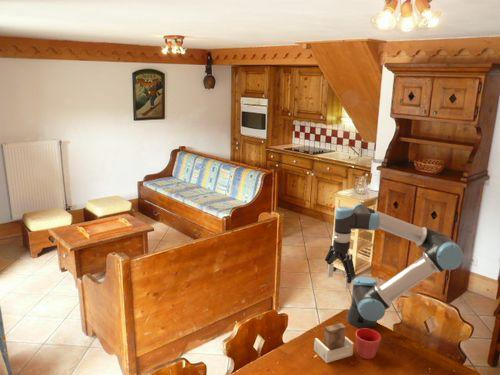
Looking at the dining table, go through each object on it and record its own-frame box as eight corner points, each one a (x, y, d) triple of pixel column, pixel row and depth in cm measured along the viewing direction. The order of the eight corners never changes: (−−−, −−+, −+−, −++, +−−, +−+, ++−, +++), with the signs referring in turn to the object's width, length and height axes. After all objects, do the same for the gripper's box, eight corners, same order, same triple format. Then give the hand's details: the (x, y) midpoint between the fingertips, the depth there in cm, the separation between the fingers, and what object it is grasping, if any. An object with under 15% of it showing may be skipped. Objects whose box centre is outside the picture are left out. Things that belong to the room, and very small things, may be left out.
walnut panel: (327, 355, 192) (329, 331, 190) (322, 350, 196) (324, 327, 193) (343, 350, 196) (346, 326, 193) (339, 346, 199) (341, 322, 196)
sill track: (339, 343, 203) (340, 331, 202) (352, 355, 195) (353, 343, 193) (313, 350, 198) (314, 338, 196) (326, 363, 189) (327, 350, 187)
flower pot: (379, 362, 190) (382, 343, 188) (354, 359, 192) (356, 339, 190) (377, 348, 200) (380, 329, 198) (353, 345, 202) (355, 326, 200)
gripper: (319, 232, 209) (316, 273, 215) (352, 251, 188) (348, 295, 193) (332, 230, 213) (329, 270, 218) (366, 248, 191) (361, 292, 196)
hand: (338, 282), depth 205 cm, fingers open, 13 cm apart
